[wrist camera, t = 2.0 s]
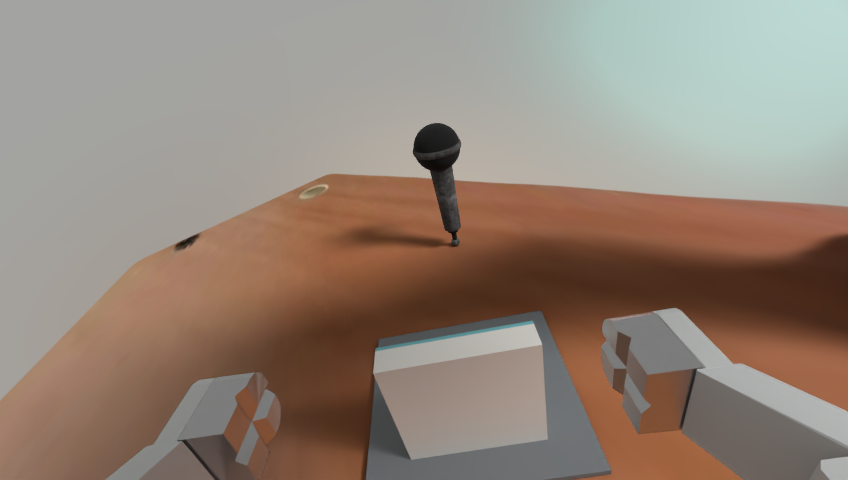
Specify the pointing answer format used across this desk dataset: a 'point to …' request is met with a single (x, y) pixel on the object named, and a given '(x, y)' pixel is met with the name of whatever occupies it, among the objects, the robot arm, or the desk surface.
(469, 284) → the desk surface
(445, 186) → the microphone
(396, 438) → the mat
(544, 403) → the tile
